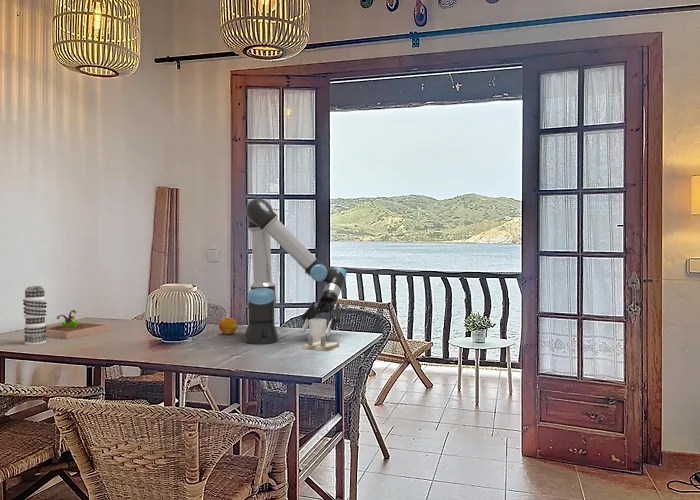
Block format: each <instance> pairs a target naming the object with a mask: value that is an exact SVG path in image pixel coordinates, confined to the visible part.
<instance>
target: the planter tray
mask: <svg viewBox="0 0 700 500" xmlns="http://www.w3.org/2000/svg"><path fill="white" fill-rule="evenodd" d="M75 322H77V321H75ZM60 325H61V326H63V325H62V324H61V323H57V324H52V325H45V326H46V328H45V330H46V329H50V328H52V327H56V326H59V327H60ZM78 325H83V326H91V327H92V328H86V329H81V330H75V331H70V332H64V331H54V330H46V332H45V333H46V336H45V337H46V338H57V339H65V340H69V339H74V338H79V337H83V336H89V335H94V334H95V335H96V334H99V333H105V332H110V331H111V324H107V323H98V322H97V323H96V322H95V323H94V322H86V321H84V322H83V321H80V322H79V323H78Z"/></svg>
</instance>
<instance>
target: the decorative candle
mask: <svg viewBox="0 0 700 500" xmlns="http://www.w3.org/2000/svg"><path fill="white" fill-rule="evenodd" d="M45 290H46V289H45V288H44V287H43V286H41V285H33V286H31V285H30V286H27V287H26V289H25V290H24V299H22V301H23V303H22V305H23V306H24V307H23V313H24V315H23V317H24V319H25V324H24V328H23V329H24V332H23V333H25V335H23V336H24V345H31V346H32V345H41V344H45V343H47V338H48V337H45V336H46V333H45V332H46V330H45V328H46V326H47V325H46V316H47V310H46V309H45V308H47V304H48V303H47V301H45V300H46V297H45V296H46V295H45Z"/></svg>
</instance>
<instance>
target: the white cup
mask: <svg viewBox="0 0 700 500" xmlns="http://www.w3.org/2000/svg"><path fill="white" fill-rule="evenodd" d="M327 324H328V323H327V319H326V318H312V319H310V320H309V326H308V328H309V335H313V341H321V336H325V337H326V336H327V334H326V330H327ZM326 339H327V337H326V338H325V341H327V340H326Z"/></svg>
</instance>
